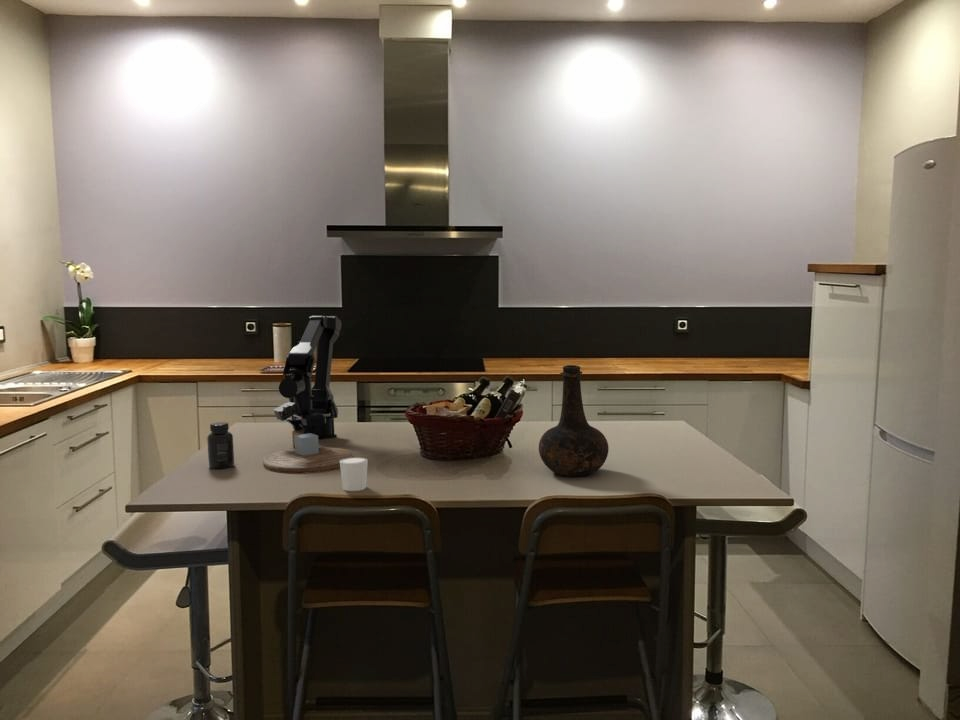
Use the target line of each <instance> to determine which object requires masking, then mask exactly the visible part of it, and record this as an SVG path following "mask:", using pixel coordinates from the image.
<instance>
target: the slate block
mask: <svg viewBox="0 0 960 720" xmlns="http://www.w3.org/2000/svg"><path fill="white" fill-rule="evenodd" d="M294 440H295V448H294V449H295V453H297V454H300V455H302V456H304V455H310V454H316V453H319V447H320V446H319V439H318V436H317V435H315V434H312V433H307V434H301V435H294Z"/></svg>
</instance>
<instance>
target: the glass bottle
mask: <svg viewBox="0 0 960 720" xmlns="http://www.w3.org/2000/svg"><path fill="white" fill-rule="evenodd" d="M582 374H583V372H582V371H581V366H580V365H575V364H573V365H572V364H568V365H563V367H562V372H560V373H559V375H560V376H561V377H562V397H561V398H562V399H561V401H562V402H561V412H560V418H559V422H558V424H557V425H555V426H553V427H551V428H549V429H547V430H546V431H545V432H544V433H543V434H542V436H541V437H540V440H539V442H538V454H539V457H540V459H541V461H542V462H543V464H544V466H546V467H547V469H549V470H550V471H551V472H553V473H555V474H557V475H560V476H565V477H583V476H589V475H591V474H594V473H595V472H597V471H599V470H600V469H601V468H602V467H603V465H604V464H605V462H606V460H607V458H608V456H609V450H610V449H609V442H608V440H607V438H606V436H605V435H604V434H603V433H602V432H601V431H600V430H599V429H598V428H595V427H594V426H591V425H590V424H589V423H588V421H587V417H586V414H585V410H584V404H583V398H582V397H583V396H582V388H581V387H582V385H581V375H582Z"/></svg>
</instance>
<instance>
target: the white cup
mask: <svg viewBox="0 0 960 720" xmlns="http://www.w3.org/2000/svg"><path fill="white" fill-rule="evenodd" d="M368 463H369V461H368V458H365V457H355V456H354V458H346V459H342V460H340V468H339V469H340V475H341V483H342V489H343V490H344V491H347V492H358V491H363V490H365V489H367V479H368V477H367V476H368Z"/></svg>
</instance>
